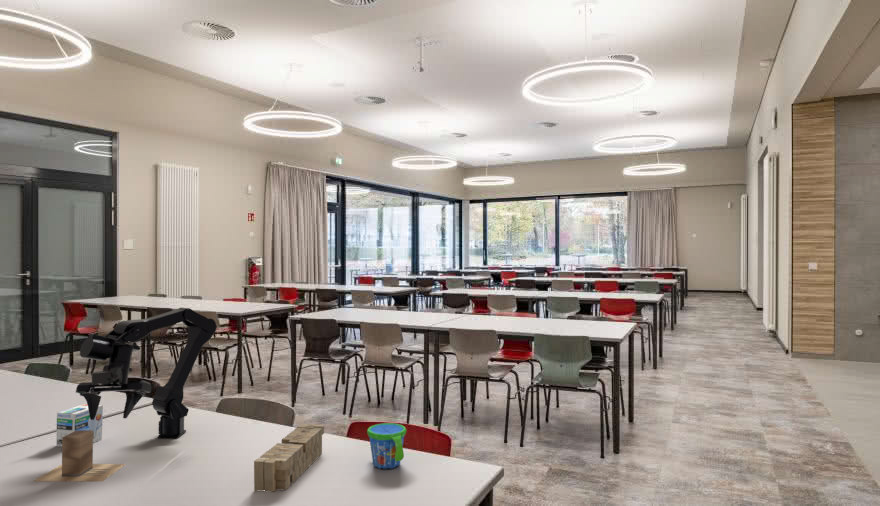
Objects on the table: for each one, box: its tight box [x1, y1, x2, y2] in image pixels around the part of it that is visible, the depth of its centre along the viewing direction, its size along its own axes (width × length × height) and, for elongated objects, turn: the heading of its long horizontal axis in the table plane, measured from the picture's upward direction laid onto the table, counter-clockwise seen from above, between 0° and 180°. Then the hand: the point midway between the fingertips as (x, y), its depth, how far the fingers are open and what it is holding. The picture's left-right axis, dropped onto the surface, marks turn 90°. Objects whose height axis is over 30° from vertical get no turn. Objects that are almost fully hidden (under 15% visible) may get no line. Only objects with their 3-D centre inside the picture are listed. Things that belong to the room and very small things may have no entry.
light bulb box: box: [55, 403, 104, 448], centre depth 167 cm, size 11×7×11 cm, turn 168°
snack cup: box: [366, 422, 407, 470], centre depth 153 cm, size 16×10×10 cm
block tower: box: [253, 423, 325, 492], centre depth 149 cm, size 8×8×29 cm
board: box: [33, 463, 127, 482], centre depth 143 cm, size 17×11×1 cm, turn 92°
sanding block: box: [61, 431, 94, 477], centre depth 143 cm, size 4×6×10 cm
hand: (108, 419), depth 154 cm, fingers open, 9 cm apart
